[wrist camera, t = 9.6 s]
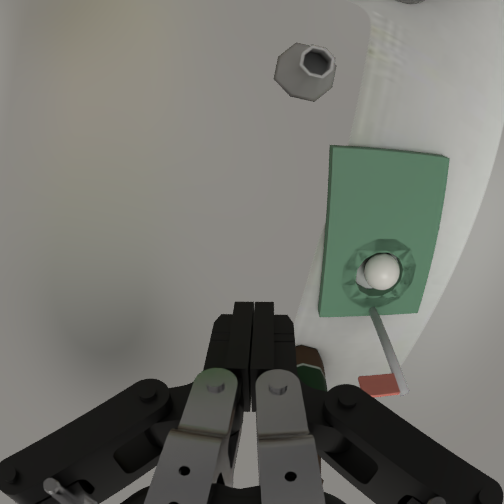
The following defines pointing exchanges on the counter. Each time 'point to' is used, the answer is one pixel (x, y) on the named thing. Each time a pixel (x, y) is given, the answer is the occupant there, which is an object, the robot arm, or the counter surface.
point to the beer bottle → (311, 372)
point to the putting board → (380, 238)
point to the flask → (305, 71)
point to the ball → (381, 271)
